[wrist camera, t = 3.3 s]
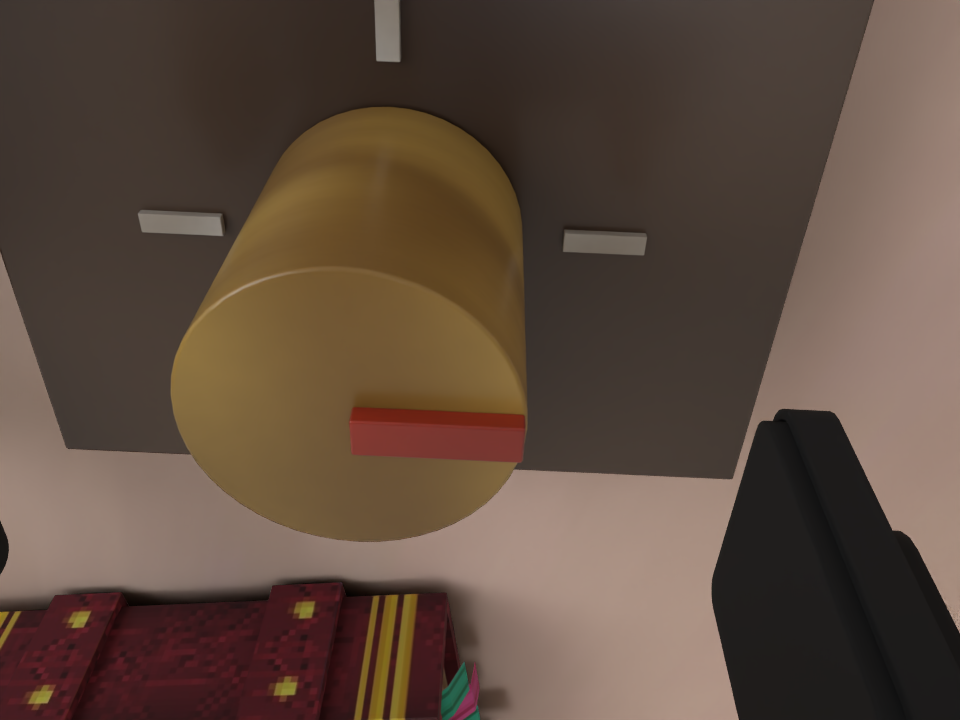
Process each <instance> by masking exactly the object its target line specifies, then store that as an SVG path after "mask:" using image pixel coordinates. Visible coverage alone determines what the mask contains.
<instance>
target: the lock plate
mask: <svg viewBox="0 0 960 720" xmlns="http://www.w3.org/2000/svg"><path fill="white" fill-rule="evenodd" d="M873 3H874V0H0V252H1V255H2V258H3V261H4V264H5V267H6V270H7V273H8V276H9V279H10V282H11V285H12V288H13V291H14V294H15V297H16V300H17V303H18V306H19V309H20V312H21V315H22V317H23V320H24V323H25V326H26V329H27V332H28V335H29V338H30V341H31V344H32V347H33V350H34V353H35V356H36V359H37V362H38V365H39V368H40V371H41V374H42V377H43V380H44V383H45V386H46V389H47V392H48V395H49V398H50V401H51V404H52V407H53V410H54V413H55V415H56V418H57V421H58V424H59V427H60V430H61V433H62V436H63V439H64V442H65V445H66V448H68V449H83V450H105V451H127V452H148V453H170V454H191V453H190V452H189V450H188V449H187V447H186V445H185V443H184V441H183V439H182V437H181V434H180V432H179V430H178V427H177V423H176V420H175V417H174V414H173V407H172V400H171V373H172V368H173V364H174V359H175V356H176V353H177V351H178V348H179V346H180V343H181V341H182V339H183V337H184V335H185V333H186V331H187V330H188V328H189V326H190V324H191V322H192V320H193V318H194V316H195V315H196V313H197V311H198V309H199V307H200V305H201V303H202V302H203V300H204V298H205V296H206V294H207V292H208V290H209V289H210V287H211V285H212V283H213V281H214V279H215V277H216V276H217V274H218V272H219V270H220V268H221V266H222V264H223V263H224V261H225V259H226V257H227V255H228V253H229V251H230V249H231V248H232V246H233V244H234V242H235V240H236V238H237V236H238V235H239V233H240V231H241V229H242V227H243V225H244V223H245V222H246V220H247V218H248V216H249V214H250V212H251V210H252V209H253V207H254V205H255V203H256V201H257V199H258V197H259V195H260V194H261V192H262V190H263V188H264V186H265V184H266V182H267V181H268V179H269V177H270V175H271V173H272V171H273V169H274V168H275V166H276V164H277V163H278V161H279V160H280V158H281V156H282V155H283V153H284V152H285V151H286V150H287V149H288V148H289V146H290V145H291V144H292V143H293V142H294V141H295V140H296V139H297V138H298V137H300V136H301V135H302V134H303V133H304V132H305V131H307V130H308V129H310V128H312V127H313V126H315V125H316V124H318V123H319V122H321V121H324V120H326V119H328V118H330V117H333V116H335V115H337V114H341V113H344V112H348V111H351V110H356V109H362V108H369V107H396V108H405V109H411V110H415V111H419V112H423V113H427V114H430V115H432V116H435V117H438V118H440V119H443V120H445V121H447V122H449V123H451V124H453V125H455V126H457V127H458V128H460V129H462V130H463V131H465V132H466V133H467V134H469V135H470V136H472V137H473V138H475V139H476V140H477V141H478V142H479V143H480V144H481V145H482V146H483V147H485V148H486V149H487V150H488V151H489V152H490V154H491V155H492V156H493V157H494V158H495V159H496V161H497V162H498V163H499V164H500V166H501V167H502V169H503V171H504V172H505V174H506V175H507V177H508V178H509V181H510V183H511V185H512V187H513V189H514V191H515V194H516V197H517V201H518V204H519V207H520V212H521V219H522V234H523V269H524V304H525V339H526V373H527V408H528V418H527V433H526V439H525V444H524V454H523V461H522V462H521V463H517V465H516V466H515V468H514V469H518V470H539V471H561V472H583V473H604V474H626V475H648V476H670V477H691V478H713V479H732V478H733V476H734V472H735V469H736V466H737V462H738V459H739V455H740V452H741V449H742V445H743V442H744V439H745V435H746V432H747V428H748V425H749V422H750V418H751V415H752V412H753V408H754V405H755V401H756V398H757V395H758V391H759V388H760V384H761V381H762V378H763V374H764V371H765V368H766V364H767V361H768V357H769V354H770V351H771V347H772V344H773V341H774V337H775V334H776V330H777V327H778V324H779V320H780V317H781V314H782V310H783V307H784V303H785V300H786V297H787V293H788V290H789V287H790V283H791V280H792V276H793V273H794V270H795V266H796V263H797V259H798V256H799V253H800V249H801V246H802V243H803V239H804V236H805V232H806V229H807V226H808V222H809V219H810V216H811V212H812V209H813V205H814V202H815V199H816V195H817V192H818V189H819V185H820V182H821V178H822V175H823V172H824V168H825V165H826V162H827V158H828V155H829V151H830V148H831V145H832V141H833V138H834V134H835V131H836V128H837V124H838V121H839V118H840V114H841V111H842V107H843V104H844V101H845V97H846V94H847V91H848V87H849V84H850V80H851V77H852V74H853V70H854V67H855V64H856V60H857V57H858V53H859V50H860V47H861V43H862V40H863V37H864V33H865V30H866V26H867V23H868V20H869V16H870V13H871V9H872V6H873Z"/></svg>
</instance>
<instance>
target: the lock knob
mask: <svg viewBox="0 0 960 720" xmlns="http://www.w3.org/2000/svg"><path fill="white" fill-rule="evenodd" d="M171 400H172V407H173V414H174V417H175V420H176V423H177V427H178V430H179V432H180V434H181V437H182V439H183V441H184V443H185V445H186V447H187V449H188V450H189V452H190V453H191V455H192V456H193V458H194V459H195V461H196V462H197V464H198V465H199V466H200V467H201V468H202V469H203V471H204V472H205V473H206V474H207V475H208V476H209V478H210V479H211V480H212V481H214V482H215V483H216V484H217V485H218V486H219V487H220V488H221V489H222V490H223V491H224V492H226V493H227V494H228V495H230V496H231V497H232V498H234V499H235V500H236V501H238V502H239V503H240V504H242V505H244V506H245V507H247V508H249V509H250V510H252V511H254V512H255V513H257V514H259V515H261V516H263V517H265V518H267V519H269V520H271V521H273V522H276V523H278V524H281V525H283V526H286V527H289V528H291V529H294V530H297V531H300V532H304V533H308V534H312V535H315V536H320V537H325V538H331V539H337V540H347V541H358V542H379V541H390V540H400V539H405V538H411V537H416V536H420V535H424V534H427V533H431V532H434V531H437V530H440V529H442V528H445V527H447V526H449V525H452V524H454V523H456V522H458V521H460V520H462V519H463V518H465V517H467V516H469V515H471V514H472V513H473V512H475V511H476V510H478V509H479V508H480V507H482V506H483V505H484V504H486V503H487V502H488V501H489V500H490V499H491V498H492V497H493V496H494V495H495V494H496V493H497V492H498V491H499V490H500V489H501V487H502V486H503V485H504V484H505V482H506V481H507V480H508V478H509V477H510V475H511V474H512V472H513V470H514V468H515V466H516V465H517V463H521V462H522V461H523V454H524V444H525V439H526V433H527V418H528V408H527V373H526V339H525V304H524V269H523V234H522V219H521V212H520V207H519V204H518V201H517V197H516V194H515V191H514V189H513V187H512V185H511V183H510V181H509V178H508V177H507V175H506V174H505V172H504V171H503V169H502V167H501V166H500V164H499V163H498V162H497V161H496V159H495V158H494V157H493V156H492V155H491V154H490V152H489V151H488V150H487V149H486V148H485V147H483V146H482V145H481V144H480V143H479V142H478V141H477V140H476V139H475V138H473V137H472V136H470V135H469V134H467V133H466V132H465V131H463V130H462V129H460V128H458V127H457V126H455V125H453V124H451V123H449V122H447V121H445V120H443V119H440V118H438V117H435V116H432V115H430V114H427V113H423V112H419V111H415V110H411V109H405V108H396V107H369V108H362V109H356V110H351V111H348V112H344V113H341V114H337V115H335V116H333V117H330V118H328V119H326V120H324V121H321V122H319V123H318V124H316V125H315V126H313V127H312V128H310V129H308V130H307V131H305V132H304V133H303V134H302V135H301V136H300V137H298V138H297V139H296V140H295V141H294V142H293V143H292V144H291V145H290V146H289V148H288V149H287V150H286V151H285V152H284V153H283V155H282V156H281V158H280V160H279V161H278V163H277V164H276V166H275V168H274V169H273V171H272V173H271V175H270V177H269V179H268V181H267V182H266V184H265V186H264V188H263V190H262V192H261V194H260V195H259V197H258V199H257V201H256V203H255V205H254V207H253V209H252V210H251V212H250V214H249V216H248V218H247V220H246V222H245V223H244V225H243V227H242V229H241V231H240V233H239V235H238V236H237V238H236V240H235V242H234V244H233V246H232V248H231V249H230V251H229V253H228V255H227V257H226V259H225V261H224V263H223V264H222V266H221V268H220V270H219V272H218V274H217V276H216V277H215V279H214V281H213V283H212V285H211V287H210V289H209V290H208V292H207V294H206V296H205V298H204V300H203V302H202V303H201V305H200V307H199V309H198V311H197V313H196V315H195V316H194V318H193V320H192V322H191V324H190V326H189V328H188V330H187V331H186V333H185V335H184V337H183V339H182V341H181V343H180V346H179V348H178V351H177V353H176V356H175V359H174V364H173V368H172V373H171Z"/></svg>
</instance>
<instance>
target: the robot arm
mask: <svg viewBox="0 0 960 720" xmlns="http://www.w3.org/2000/svg"><path fill="white" fill-rule="evenodd" d="M8 552H9V544H8V539H7V536H6V534H5V531H4V529H3V526H2V524H1V522H0V574H1V573H2V571H3V569H4V567H5V565H6V561H7V558H8ZM712 603H713V609H714V613H715V618H716V622H717V626H718V631H719V635H720V639H721V644H722V648H723V653H724V657H725V661H726V666H727V670H728V674H729V679H730V683H731V687H732V692H733V696H734V700H735V705H736V709H737V713H738V718H739V720H960V633H959V631H958V629H957V627H956V625H955V623H954V621H953V619H952V617H951V615H950V613H949V611H948V609H947V607H946V605H945V603H944V601H943V599H942V597H941V595H940V593H939V591H938V589H937V587H936V585H935V583H934V581H933V579H932V577H931V575H930V573H929V571H928V569H927V567H926V565H925V563H924V561H923V559H922V557H921V555H920V553H919V551H918V549H917V548H916V546H915V545H914V543H913V542H912V540H911V539H910V538H909V537H908V536H907V535H905V534H904V533H903V532H901V531H892V528H891V526H890V524H889V522H888V520H887V518H886V516H885V514H884V512H883V510H882V508H881V506H880V504H879V502H878V499H877V497H876V495H875V493H874V491H873V489H872V487H871V485H870V483H869V481H868V479H867V477H866V475H865V472H864V470H863V468H862V466H861V464H860V462H859V460H858V458H857V456H856V454H855V452H854V450H853V448H852V446H851V443H850V441H849V439H848V437H847V435H846V433H845V431H844V429H843V427H842V425H841V423H840V421H839V419H838V418H837V416H836V415H835V414H834V413H832V412H831V411H814V410H794V409H781V410H779V411H778V412H777V413H776V415H775V417H774V419H773V421H761V422H760V424H759V425H758V427H757V430H756V433H755V436H754V440H753V443H752V446H751V450H750V453H749V456H748V460H747V463H746V466H745V470H744V473H743V476H742V480H741V483H740V487H739V490H738V493H737V497H736V500H735V503H734V507H733V510H732V513H731V517H730V520H729V523H728V527H727V530H726V534H725V537H724V540H723V544H722V547H721V550H720V554H719V557H718V560H717V564H716V567H715V570H714V574H713V579H712Z"/></svg>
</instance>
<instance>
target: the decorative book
mask: <svg viewBox="0 0 960 720" xmlns="http://www.w3.org/2000/svg"><path fill="white" fill-rule="evenodd" d="M479 689H480V688H479V682H478V676H477V670H476V665H475V664H474V669H473V674H472V680H471V684H469V683H468V678H467V672H466V667H465V661H464V662H463V664H462V665H460V660H459V655H458V650H457V644H456V639H455V634H454V629H453V623H452V618H451V613H450V608H449V603H448V597H447V593H426V594H403V595H379V596H356V597H346V594H345V590H344V587H343V584H342V582H340V583H318V584H296V585H273V586H272V589H271V592H270V596H269V600H264V601H241V602H218V603H195V604H172V605H149V606H129V605H128V603H127V601H126V599H125V597H124V596H123V594H122V592H117V593H95V594H73V595H55V596H54V598H53V600H52V602H51V604H50V606H49V608H48V609H47V610H34V611H11V612H0V720H480V715H479V709H478V705H477V700H478V695H479Z"/></svg>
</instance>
